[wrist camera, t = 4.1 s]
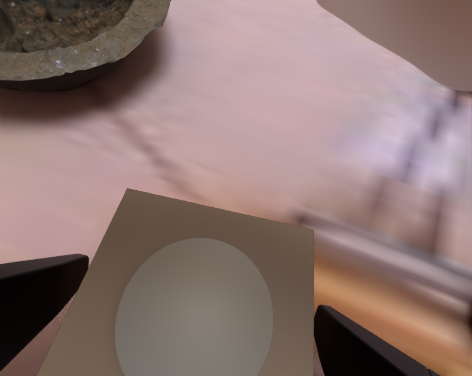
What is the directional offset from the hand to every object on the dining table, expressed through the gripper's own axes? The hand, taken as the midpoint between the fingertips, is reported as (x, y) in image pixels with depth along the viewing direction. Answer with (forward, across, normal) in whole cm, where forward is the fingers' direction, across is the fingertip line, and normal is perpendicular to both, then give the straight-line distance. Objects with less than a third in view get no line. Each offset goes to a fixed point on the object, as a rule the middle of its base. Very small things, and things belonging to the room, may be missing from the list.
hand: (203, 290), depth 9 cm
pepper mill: (+4, 0, -6) cm, 7 cm away
